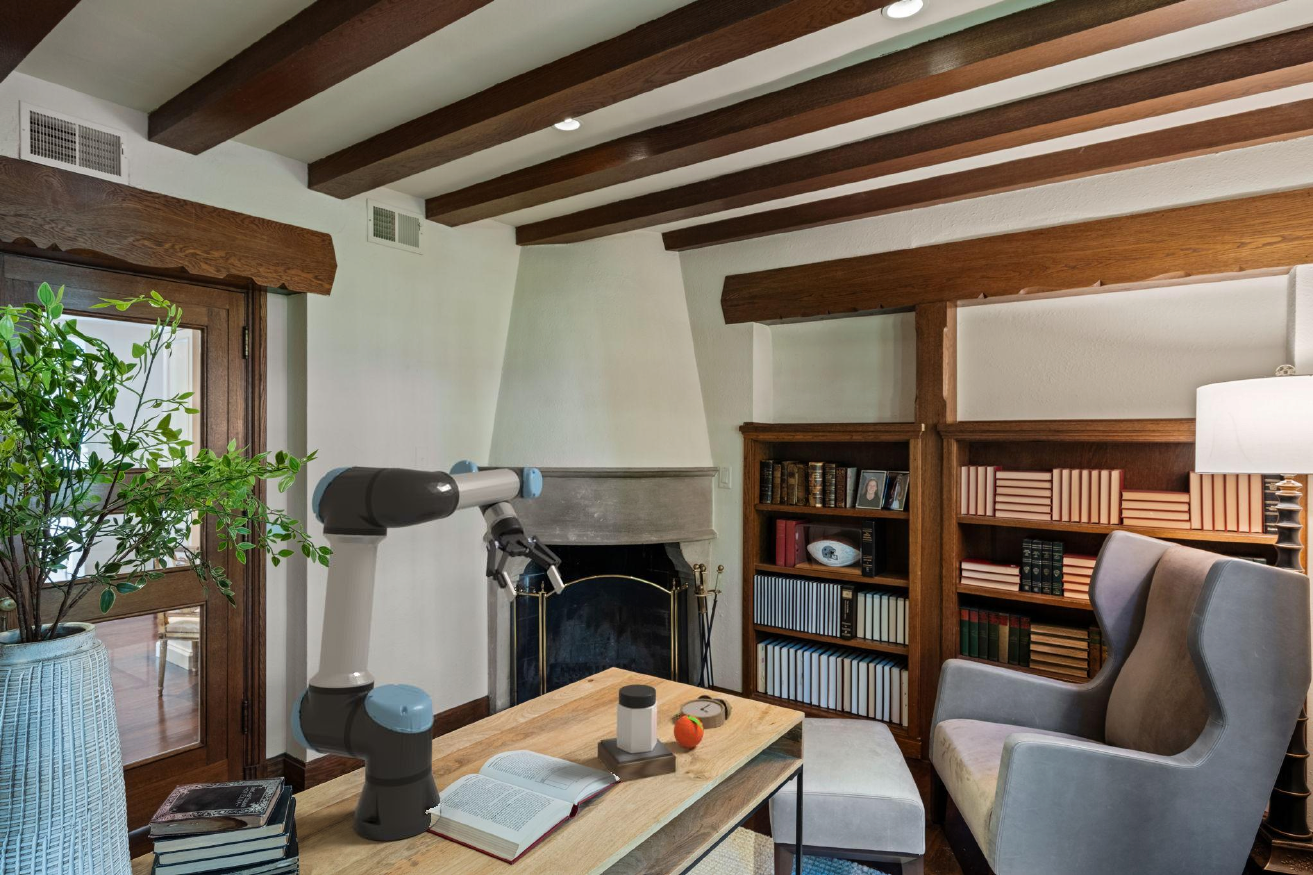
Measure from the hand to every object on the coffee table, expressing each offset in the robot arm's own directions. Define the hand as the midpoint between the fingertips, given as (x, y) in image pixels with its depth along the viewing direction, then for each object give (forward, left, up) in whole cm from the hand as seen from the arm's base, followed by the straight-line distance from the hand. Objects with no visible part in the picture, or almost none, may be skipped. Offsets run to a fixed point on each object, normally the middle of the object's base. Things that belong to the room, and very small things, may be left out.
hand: (537, 594), depth 175 cm
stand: (+16, -23, -34) cm, 44 cm away
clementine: (+31, -19, -34) cm, 50 cm away
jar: (+17, -23, -30) cm, 41 cm away
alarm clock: (+43, -5, -34) cm, 55 cm away
